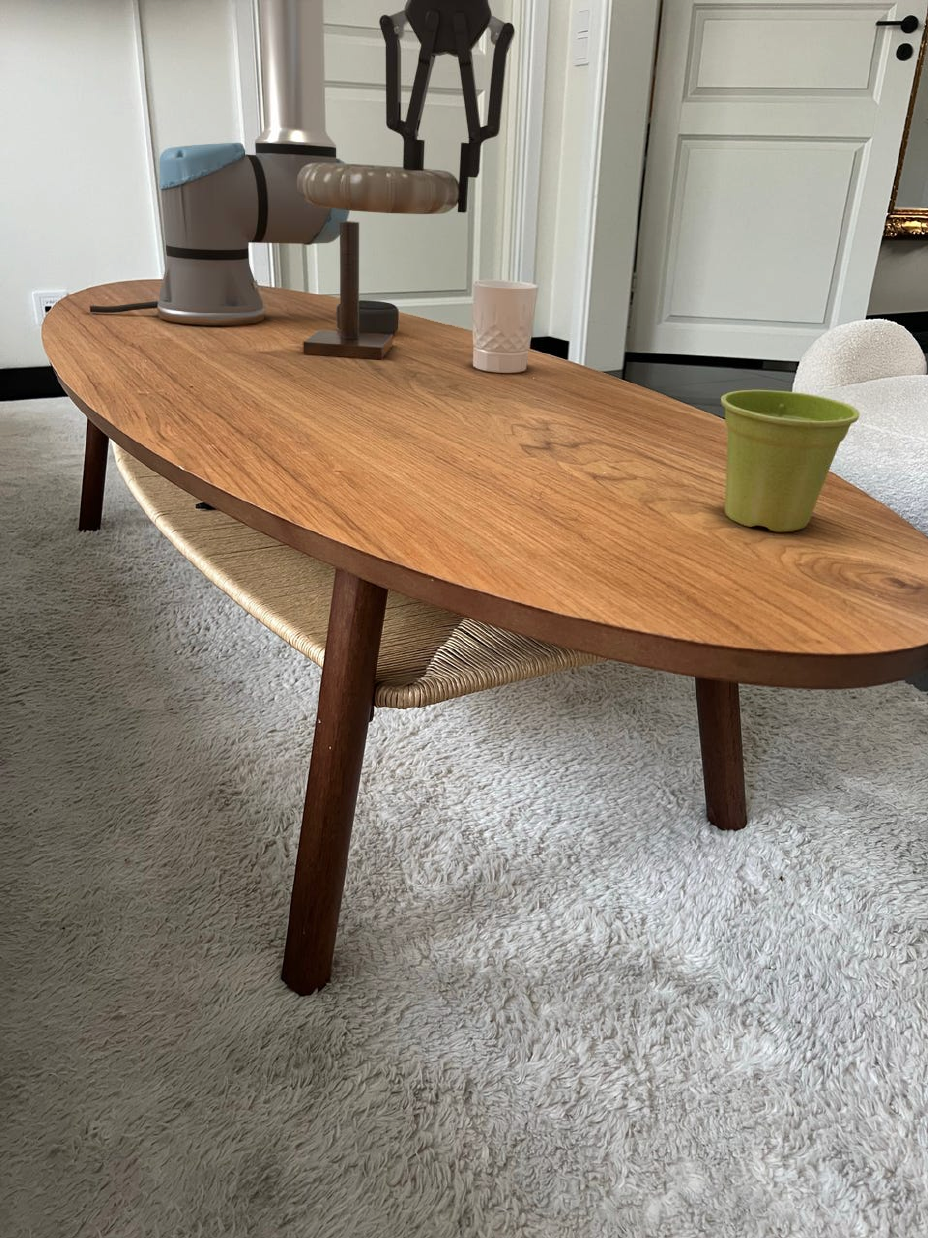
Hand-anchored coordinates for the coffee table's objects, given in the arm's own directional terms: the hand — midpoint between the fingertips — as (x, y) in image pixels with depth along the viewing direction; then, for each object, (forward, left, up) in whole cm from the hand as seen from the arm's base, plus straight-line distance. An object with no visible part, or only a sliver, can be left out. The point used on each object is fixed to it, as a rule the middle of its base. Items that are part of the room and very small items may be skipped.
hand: (439, 209), depth 96 cm
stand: (-13, +16, -18) cm, 27 cm away
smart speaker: (-13, +30, -18) cm, 37 cm away
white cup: (+7, +11, -18) cm, 22 cm away
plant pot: (+29, -39, -18) cm, 52 cm away
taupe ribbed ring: (-6, 0, +2) cm, 7 cm away
